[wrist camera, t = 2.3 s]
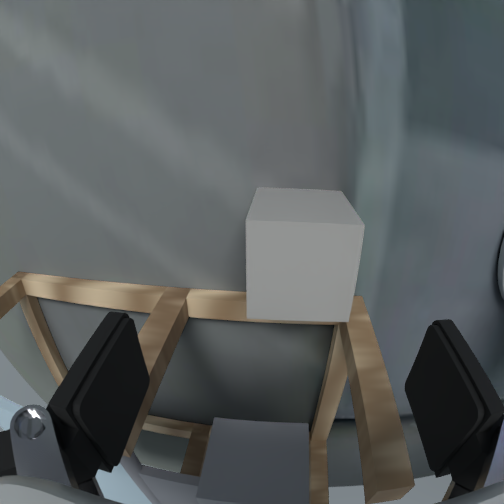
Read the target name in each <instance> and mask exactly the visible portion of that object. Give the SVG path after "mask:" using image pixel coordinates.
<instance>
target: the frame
mask: <svg viewBox="0 0 504 504" xmlns="http://www.w3.org/2000/svg"><path fill="white" fill-rule="evenodd" d="M37 297H42V298H48V299H54V300H59V301H66V302H72V303H78V304H85V305H92V306H99V307H106V308H113V309H121V310H129V311H137V312H145V313H151V314H150V315H149V317H148V319H147V320H146V322H145V324H144V325H143V327H142V329H141V331H140V332H139V334H138V339H139V343H140V346H141V350H142V353H143V357H144V360H145V364H146V367H147V370H148V373H149V377H150V383H149V387H148V390H147V392H146V395H145V397H144V400H143V403H142V405H141V408H140V410H139V413H138V415H137V418H136V421H135V423H134V426H133V428H132V431H131V434H130V436H129V439H128V442H127V444H126V447H125V450H124V453H123V456H126V457H130V458H131V455H132V452H133V450H134V447H135V445H136V442H137V440H138V437H139V435H140V432H141V430H142V429H143V430H148V431H152V432H157V433H162V434H167V435H172V436H177V437H183V438H189V439H190V440H189V443H188V447H187V450H186V454H185V458H184V461H183V465H182V469H181V472H180V473H181V474H187V475H192V476H198V477H201V473H202V468H203V464H204V460H205V455H206V451H207V446H208V442H209V438H210V433H211V429H212V425H204V424H197V423H191V422H184V421H178V420H172V419H167V418H162V417H156V416H151V415H148V412H149V410H150V407H151V405H152V403H153V400H154V398H155V395H156V393H157V390H158V388H159V386H160V383H161V381H162V378H163V376H164V374H165V371H166V369H167V366H168V364H169V362H170V359H171V357H172V355H173V352H174V350H175V348H176V345H177V343H178V341H179V338H180V336H181V334H182V331H183V329H184V327H185V325H186V322H187V320H188V318H189V317H195V318H207V319H220V320H234V321H249V322H267V323H290V324H323V325H334V330H333V336H332V341H331V346H330V351H329V356H328V360H327V365H326V370H325V374H324V379H323V383H322V388H321V392H320V396H319V400H318V404H317V408H316V412H315V416H314V420H313V424H312V428H311V431H310V432H309V504H329V491H328V465H327V446H326V440H327V437H328V435H329V432H330V429H331V426H332V423H333V420H334V417H335V414H336V411H337V408H338V405H339V402H340V399H341V396H342V392H343V389H344V386H345V382H346V379H347V376H348V377H349V383H350V389H351V395H352V401H353V408H354V414H355V421H356V428H357V435H358V442H359V450H360V458H361V466H362V475H363V484H364V494H365V504H371V503H379V502H386V501H392V500H397V499H401V498H402V497H403V496H404V495H405V494H406V493H407V492H408V491H409V490H411V489H412V487H414V485H415V483H414V478H413V473H412V468H411V464H410V459H409V455H408V450H407V446H406V442H405V437H404V433H403V429H402V425H401V421H400V417H399V414H398V410H397V406H396V402H395V399H394V395H393V392H392V388H391V385H390V381H389V378H388V374H387V371H386V368H385V364H384V361H383V358H382V355H381V351H380V348H379V345H378V342H377V339H376V336H375V333H374V330H373V327H372V324H371V321H370V318H369V315H368V312H367V309H366V307H365V304H364V301H363V298H362V296H354V297H353V302H352V307H351V312H350V317H349V322H321V321H288V320H265V319H247V297H246V292H238V291H220V290H205V289H190V288H176V287H163V286H151V285H139V284H127V283H116V282H106V281H96V280H86V279H77V278H67V277H59V276H50V275H42V274H33V273H25V272H17V273H16V274H15V275H14V276H12V277H11V278H10V279H9V280H7V281H6V282H5V283H4V284H3V285H1V286H0V319H1V318H2V317H3V316H4V315H5V314H6V313H7V312H8V311H9V310H10V309H11V308H13V307H14V306H15V305H16V304H17V303H18V302H20V304H21V307H22V310H23V312H24V315H25V317H26V320H27V322H28V324H29V327H30V329H31V331H32V334H33V336H34V338H35V340H36V343H37V345H38V347H39V349H40V351H41V353H42V355H43V357H44V359H45V361H46V363H47V365H48V367H49V369H50V371H51V373H52V375H53V377H54V379H55V381H56V382H57V384H58V386H60V384H61V382H62V381H63V379H64V378H65V376H66V375H67V373H68V371H67V369H66V367H65V365H64V362H63V360H62V358H61V356H60V354H59V352H58V349H57V347H56V345H55V343H54V340H53V338H52V336H51V333H50V331H49V328H48V326H47V323H46V321H45V318H44V316H43V313H42V310H41V308H40V305H39V302H38V299H37Z"/></svg>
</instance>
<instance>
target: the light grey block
mask: <svg viewBox="0 0 504 504" xmlns="http://www.w3.org/2000/svg"><path fill="white" fill-rule="evenodd" d="M364 228H365V225H364V223H363V222H362V220H361V219H360V217H359V216H358V214H357V213H356V211H355V210H354V209H353V207H352V206H351V204H350V203H349V201H348V200H347V198H346V197H345V196H344V194H343V193H342V191H332V190H314V189H292V188H261V187H257V189H256V192H255V195H254V198H253V201H252V204H251V207H250V209H249V212H248V215H247V218H246V297H247V319H265V320H288V321H321V322H349V317H350V312H351V307H352V302H353V297H354V292H355V286H356V280H357V274H358V268H359V262H360V256H361V249H362V242H363V235H364Z"/></svg>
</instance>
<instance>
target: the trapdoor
mask: <svg viewBox="0 0 504 504" xmlns="http://www.w3.org/2000/svg"><path fill="white" fill-rule="evenodd" d="M21 408H23V406H21V405H18V404H16V403H14V402H12V401H10V400H8V399H6V398H5V397H3V396H1V395H0V426H1V427H2V428H3V430H4V431H5V430H8V429H10V422H11V419H12V417H13V416H14V414H15V413H16V412H17V411H18V410H19V409H21ZM95 477H96V480H97V482H98V484H99V486H100V489H101V491H102V493H103V495H104V497H105V498H106V499H109V500H113V501H116V502H120V503H123V504H309V423H283V422H262V421H248V420H237V419H226V418H217V417H214V420H213V425H212V429H211V433H210V438H209V442H208V446H207V451H206V455H205V460H204V464H203V468H202V473H201V477H198V476H192V475H187V474H181V473H176V472H171V471H166V470H162V469H157V468H153V467H149V466H145V465H141V463H140V461H139V460H138V458H137V457H136V455H135V453H134V452H132V455H131V458H130V457H126V456H123V455H122V458H121V461H120V463H119V465H118V466H114V467H113V470H112V473H109V472H106V471H103V470H100V469H98V471H97V474H96V476H95Z"/></svg>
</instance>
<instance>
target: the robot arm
mask: <svg viewBox="0 0 504 504" xmlns="http://www.w3.org/2000/svg"><path fill="white" fill-rule="evenodd" d="M498 285H499V289H500V293H501V296H502V298H503V299H504V239H503V242H502V245H501V250H500V256H499V261H498ZM149 383H150V377H149V373H148V370H147V367H146V364H145V360H144V357H143V353H142V350H141V346H140V343H139V339H138V335H137V331H136V327H135V324H134V320H133V319H132V318H129V316H128V314H126V313H119V312H109V313H108V314H107V315H106V317H105V318H104V320H103V321H102V322H101V324H100V325H99V327H98V328H97V330H96V331H95V332H94V334H93V335H92V337H91V338H90V340H89V341H88V343H87V344H86V346H85V347H84V349H83V350H82V352H81V353H80V355H79V356H78V358H77V359H76V361H75V362H74V364H73V365H72V367H71V368H70V370H69V371H68V373H67V375H66V376H65V378H64V379H63V381H62V382H61V384H60V386H59V387H58V389H57V390H56V392H55V394H54V395H53V397H52V399H51V400H50V402H49V405H48V406H47V408H46V409H45V408H44V407H41V406H40V405H27V406H25V407H23V408H21V409H19V410H18V411H17V412H16V413H15V414H14V416H13V417H12V419H11V422H10V429H8V430H5V431H3V432H0V504H123V503H120V502H116V501H113V500H109V499H106V498H105V497H104V495H103V493H102V491H101V489H100V486H99V484H98V482H97V480H96V477H95V476H96V474H97V471H98V469H100V470H103V471H106V472H109V473H112V470H113V467H114V466H118V465H119V463H120V461H121V458H122V455H123V453H124V450H125V447H126V444H127V442H128V439H129V436H130V434H131V431H132V428H133V426H134V423H135V421H136V418H137V415H138V413H139V410H140V408H141V405H142V403H143V400H144V397H145V395H146V392H147V390H148V387H149ZM405 392H406V395H407V398H408V401H409V404H410V406H411V409H412V412H413V415H414V418H415V421H416V424H417V428H418V431H419V434H420V437H421V440H422V443H423V447H424V450H425V453H426V457H427V460H428V464H429V467H430V469H431V470H432V471H434V472H435V475H436V477H441V476H444V475H448V474H450V473H451V476H452V481H451V483H450V486H449V487H448V490H447V492H446V494H445V496H444V498H443V500H442V502H438V503H435V504H504V414H503V413H504V406H503V404H502V402H501V400H500V398H499V396H498V394H497V393H496V391H495V389H494V387H493V385H492V384H491V382H490V380H489V378H488V377H487V375H486V373H485V372H484V370H483V368H482V367H481V365H480V363H479V362H478V360H477V358H476V357H475V355H474V353H473V352H472V350H471V349H470V347H469V345H468V344H467V342H466V341H465V339H464V338H463V336H462V335H461V333H460V332H459V330H458V329H457V327H456V326H455V324H454V323H453V321H452V320H449V319H448V320H436V321H434V322H433V323H432V325H430V326H429V327H428V329H427V331H426V334H425V337H424V339H423V342H422V344H421V347H420V350H419V352H418V354H417V357H416V359H415V362H414V364H413V366H412V369H411V371H410V373H409V376H408V378H407V380H406V383H405Z"/></svg>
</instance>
